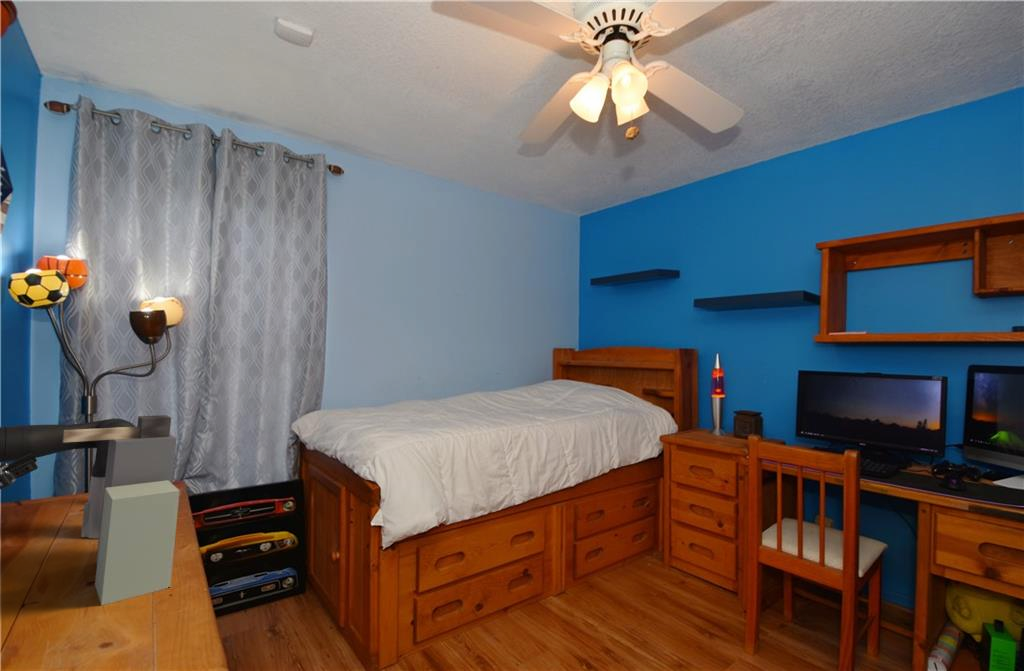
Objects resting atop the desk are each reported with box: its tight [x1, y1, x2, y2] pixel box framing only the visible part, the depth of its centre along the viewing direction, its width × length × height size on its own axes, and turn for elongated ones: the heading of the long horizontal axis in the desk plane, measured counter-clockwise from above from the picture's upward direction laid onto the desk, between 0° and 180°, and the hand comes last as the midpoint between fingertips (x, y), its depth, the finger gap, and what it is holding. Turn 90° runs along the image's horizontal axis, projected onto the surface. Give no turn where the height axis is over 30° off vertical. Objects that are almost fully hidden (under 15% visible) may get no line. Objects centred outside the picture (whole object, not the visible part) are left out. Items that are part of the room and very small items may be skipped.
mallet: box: [63, 414, 172, 443], centre depth 116 cm, size 20×6×5 cm, turn 137°
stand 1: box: [95, 433, 177, 564], centre depth 118 cm, size 12×12×32 cm
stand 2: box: [94, 480, 181, 606], centre depth 107 cm, size 12×12×22 cm
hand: (35, 460), depth 105 cm, fingers open, 8 cm apart
